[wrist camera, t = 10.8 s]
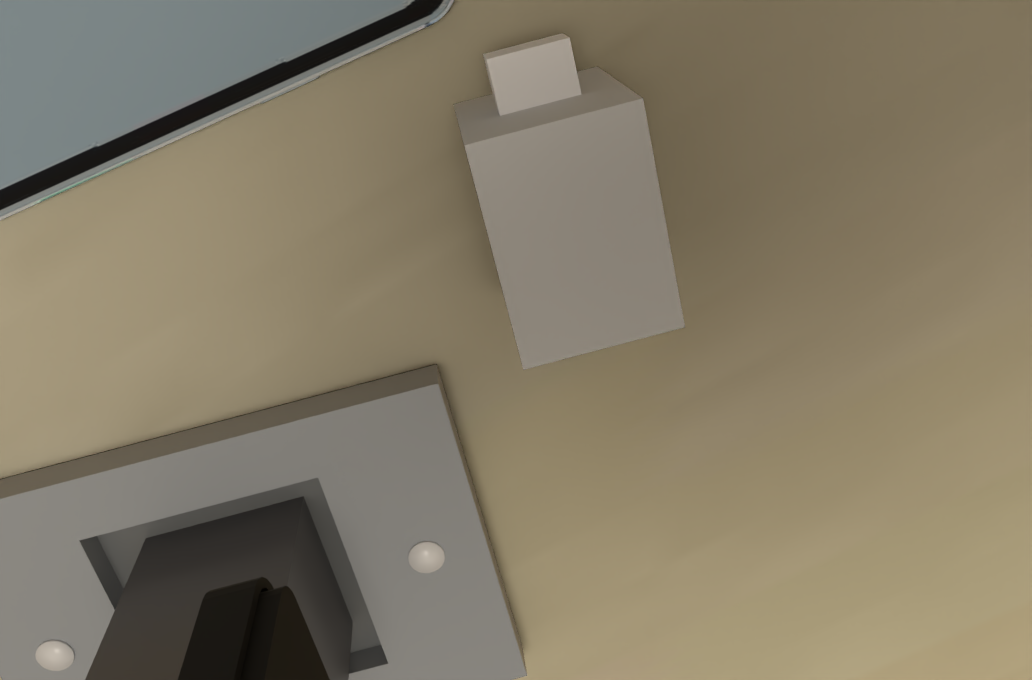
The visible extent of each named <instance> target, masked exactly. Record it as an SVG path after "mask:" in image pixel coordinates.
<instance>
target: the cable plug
mask: <svg viewBox="0 0 1032 680" xmlns="http://www.w3.org/2000/svg"><path fill="white" fill-rule="evenodd" d="M483 56H484V61H485V65H486V69H487V73H488V77H489V81H490V85H491V89H492V93H493V94H490V95H486V96H483V97H479V98H475V99H471V100H467V101H464V102H460V103H456V104H453V105H454V109H455V113H456V116H457V120H458V124H459V128H460V132H461V135H462V139H463V143H464V147H465V151H466V154H467V158H468V162H469V166H470V170H471V173H472V177H473V181H474V185H475V189H476V192H477V196H478V200H479V204H480V208H481V212H482V215H483V219H484V223H485V227H486V231H487V234H488V238H489V242H490V246H491V250H492V253H493V257H494V261H495V265H496V269H497V272H498V276H499V280H500V284H501V288H502V291H503V295H504V299H505V303H506V306H507V310H508V314H509V318H510V321H511V325H512V329H513V333H514V336H515V340H516V344H517V347H518V351H519V355H520V359H521V362H522V366H523V370H525V369H529V368H532V367H536V366H540V365H544V364H548V363H551V362H555V361H559V360H563V359H567V358H570V357H574V356H578V355H582V354H586V353H589V352H593V351H597V350H601V349H604V348H608V347H612V346H616V345H620V344H623V343H627V342H631V341H635V340H639V339H642V338H646V337H650V336H654V335H658V334H661V333H665V332H669V331H673V330H677V329H680V328H684V327H685V324H684V318H683V313H682V308H681V302H680V297H679V291H678V286H677V280H676V275H675V269H674V264H673V258H672V253H671V247H670V242H669V237H668V231H667V226H666V220H665V215H664V209H663V204H662V198H661V193H660V187H659V182H658V177H657V171H656V166H655V160H654V155H653V149H652V144H651V138H650V133H649V127H648V122H647V117H646V111H645V106H644V100H643V98H642V97H641V96H639V95H638V94H636V93H635V92H633V91H632V90H631V89H629V88H628V87H626V86H625V85H623V84H622V83H621V82H619V81H618V80H616V79H615V78H613V77H612V76H611V75H609V74H608V73H606V72H605V71H603V70H602V69H601V68H599V67H598V66H597V67H593V68H589V69H585V70H581V71H578V72H577V70H576V65H575V61H574V56H573V51H572V46H571V41H570V37H568V36H566V35H565V34H563V33H561V34H557V35H553V36H550V37H546V38H542V39H538V40H534V41H531V42H527V43H523V44H519V45H515V46H512V47H508V48H504V49H500V50H496V51H493V52H489V53H485V54H483Z"/></svg>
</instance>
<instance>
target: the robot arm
mask: <svg viewBox="0 0 1032 680" xmlns="http://www.w3.org/2000/svg"><path fill="white" fill-rule="evenodd" d="M178 680H330V679H329V677H328V674H327V672H326V669H325V667H324V665H323V662H322V660H321V657H320V655H319V653H318V650H317V648H316V645H315V643H314V641H313V638H312V636H311V633H310V631H309V629H308V626H307V624H306V622H305V619H304V617H303V614H302V612H301V610H300V607H299V605H298V602H297V600H296V598H295V596H294V594H293V592H292V590H291V589H290V588H289V587H288V586H283V587H279V588H275V589H274V588H273V586H272V584H271V583H270V582H269V581H268V579H267V578H264V577H259V578H256V579H252V580H248V581H244V582H240V583H237V584H233V585H229V586H225V587H221V588H218V589H214V590H210V591H209V592H207V593H206V594H205V596H204V598H203V600H202V603H201V606H200V609H199V612H198V616H197V619H196V622H195V625H194V629H193V632H192V635H191V638H190V641H189V645H188V648H187V651H186V654H185V658H184V661H183V664H182V667H181V670H180V674H179V677H178Z"/></svg>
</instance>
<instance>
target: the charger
mask: <svg viewBox="0 0 1032 680" xmlns="http://www.w3.org/2000/svg"><path fill="white" fill-rule="evenodd" d="M259 577H264V578H267V579H268V581H269V582H270V583H271V584H272V586H273V588H274V589H275V588H279V587H283V586H288V587H289V588H290V589H291V590H292V592H293V594H294V596H295V598H296V600H297V602H298V605H299V607H300V610H301V612H302V614H303V617H304V619H305V622H306V624H307V626H308V629H309V631H310V633H311V636H312V638H313V641H314V643H315V645H316V648H317V650H318V653H319V655H320V657H321V660H322V662H323V665H324V667H325V669H326V672H327V674H328V677H329V679H330V680H348V679H349V666H350V653H351V640H352V627H353V621H352V618H351V616H350V613H349V611H348V608H347V606H346V603H345V601H344V598H343V595H342V593H341V590H340V588H339V585H338V583H337V580H336V578H335V575H334V572H333V570H332V567H331V565H330V562H329V560H328V557H327V555H326V552H325V550H324V547H323V544H322V542H321V539H320V537H319V534H318V532H317V529H316V527H315V524H314V521H313V519H312V516H311V514H310V511H309V509H308V506H307V504H306V501H305V499H304V496H302V497H299V498H295V499H291V500H287V501H284V502H280V503H276V504H272V505H269V506H265V507H261V508H257V509H254V510H250V511H246V512H242V513H239V514H235V515H231V516H227V517H223V518H220V519H216V520H212V521H208V522H205V523H201V524H197V525H193V526H190V527H186V528H182V529H178V530H175V531H171V532H167V533H163V534H160V535H156V536H152V537H148V538H146V539H145V541H144V543H143V546H142V548H141V550H140V553H139V555H138V557H137V560H136V562H135V564H134V567H133V569H132V571H131V574H130V576H129V578H128V581H127V583H126V585H125V588H124V590H123V592H122V595H121V597H120V599H119V602H118V604H117V606H116V609H115V611H114V613H113V616H112V618H111V620H110V623H109V625H108V627H107V630H106V632H105V634H104V637H103V639H102V641H101V644H100V646H99V648H98V651H97V653H96V655H95V658H94V660H93V662H92V665H91V667H90V669H89V672H88V674H87V676H86V679H85V680H178V677H179V674H180V670H181V667H182V664H183V661H184V658H185V654H186V651H187V648H188V645H189V641H190V638H191V635H192V632H193V629H194V625H195V622H196V619H197V616H198V612H199V609H200V606H201V603H202V600H203V598H204V596H205V594H206V593H207V592H209V591H210V590H214V589H218V588H221V587H225V586H229V585H233V584H237V583H240V582H244V581H248V580H252V579H256V578H259Z"/></svg>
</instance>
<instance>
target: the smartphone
mask: <svg viewBox="0 0 1032 680" xmlns="http://www.w3.org/2000/svg"><path fill="white" fill-rule="evenodd" d="M453 2H454V0H0V220H2V219H4V218H7V217H9V216H11V215H13V214H15V213H18V212H20V211H22V210H24V209H26V208H29V207H31V206H33V205H35V204H38V203H40V202H42V201H44V200H46V199H49V198H51V197H53V196H55V195H57V194H60V193H62V192H64V191H66V190H68V189H71V188H73V187H75V186H77V185H79V184H82V183H84V182H86V181H88V180H90V179H93V178H95V177H97V176H99V175H101V174H104V173H106V172H108V171H110V170H112V169H115V168H117V167H119V166H121V165H123V164H126V163H128V162H130V161H132V160H135V159H137V158H139V157H141V156H143V155H146V154H148V153H150V152H152V151H154V150H157V149H159V148H161V147H163V146H165V145H168V144H170V143H172V142H174V141H176V140H179V139H181V138H183V137H185V136H187V135H190V134H192V133H194V132H196V131H198V130H201V129H203V128H205V127H207V126H209V125H212V124H214V123H216V122H218V121H220V120H223V119H225V118H227V117H229V116H232V115H234V114H236V113H238V112H240V111H243V110H245V109H247V108H249V107H251V106H254V105H256V104H258V103H260V104H262V103H264V102H266V101H269V100H271V99H273V98H275V97H277V96H280V95H282V94H284V93H286V92H288V91H291V90H293V89H295V88H297V87H299V86H302V85H304V84H306V83H308V82H310V81H313V80H315V79H317V78H319V77H320V75H322V74H324V73H326V72H329V71H331V70H333V69H335V68H337V67H340V66H342V65H344V64H346V63H348V62H351V61H353V60H355V59H357V58H359V57H362V56H364V55H366V54H368V53H370V52H373V51H375V50H377V49H379V48H381V47H384V46H386V45H388V44H390V43H392V42H395V41H397V40H399V39H401V38H403V37H406V36H408V35H410V34H412V33H414V32H417V31H419V30H421V29H423V28H426V27H428V26H430V25H432V24H434V23H435V22H437V21H438V20H440V19H441V18H442V17H443V16H444V15H445V14H446V13H447V12H448V10H449V9H450V7H451V5H452V4H453Z"/></svg>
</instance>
